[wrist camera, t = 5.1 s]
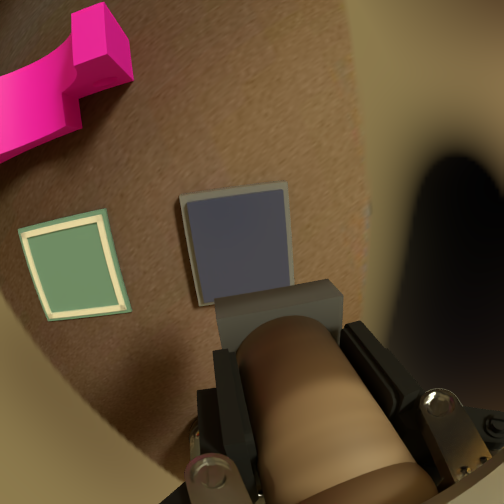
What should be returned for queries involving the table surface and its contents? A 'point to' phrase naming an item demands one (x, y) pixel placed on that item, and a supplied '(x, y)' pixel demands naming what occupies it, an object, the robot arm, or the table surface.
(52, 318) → the mat
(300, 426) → the stamp
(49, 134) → the toy block
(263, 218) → the ink pad
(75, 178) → the table surface
